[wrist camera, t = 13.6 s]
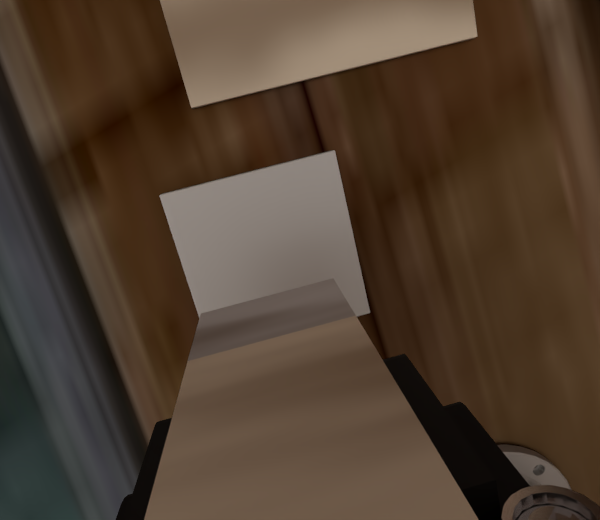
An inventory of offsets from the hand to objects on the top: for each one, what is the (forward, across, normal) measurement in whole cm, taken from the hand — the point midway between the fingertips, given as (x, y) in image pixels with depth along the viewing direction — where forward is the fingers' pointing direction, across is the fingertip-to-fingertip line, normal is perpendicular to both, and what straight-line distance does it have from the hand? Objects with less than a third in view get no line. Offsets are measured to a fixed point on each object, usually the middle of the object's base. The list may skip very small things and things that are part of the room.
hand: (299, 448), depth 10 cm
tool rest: (+18, 0, 0) cm, 18 cm away
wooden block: (+4, 0, 0) cm, 4 cm away
